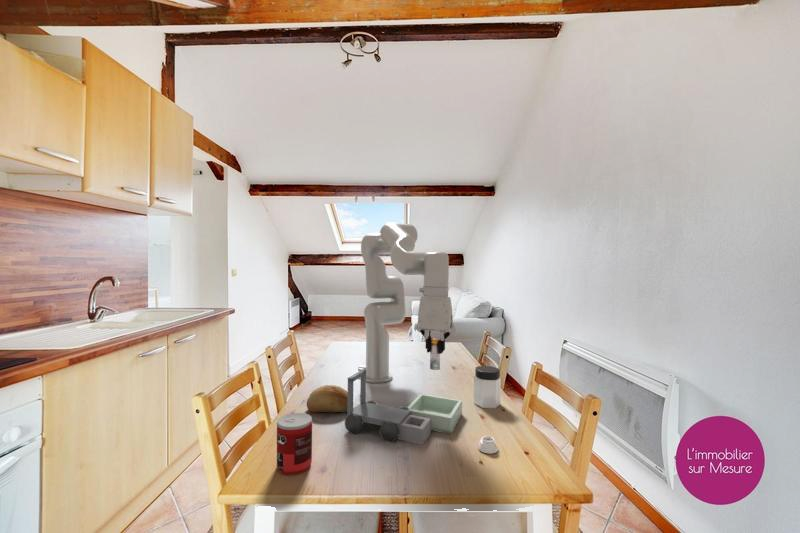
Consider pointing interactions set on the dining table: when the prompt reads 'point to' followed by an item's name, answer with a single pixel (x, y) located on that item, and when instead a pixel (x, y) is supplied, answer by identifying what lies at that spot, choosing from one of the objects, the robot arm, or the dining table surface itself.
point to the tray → (438, 411)
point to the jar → (487, 386)
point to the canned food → (294, 443)
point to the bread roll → (328, 399)
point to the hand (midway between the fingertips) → (435, 351)
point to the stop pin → (434, 354)
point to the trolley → (384, 417)
